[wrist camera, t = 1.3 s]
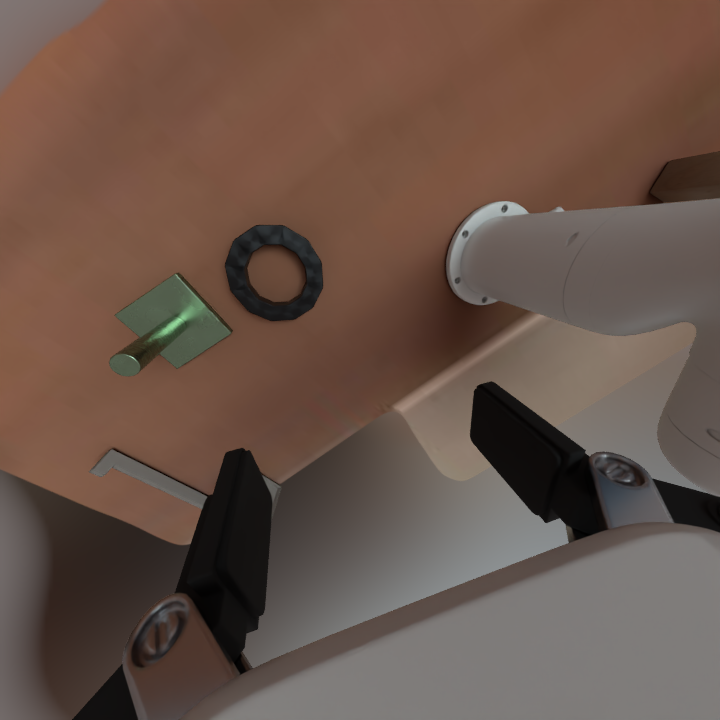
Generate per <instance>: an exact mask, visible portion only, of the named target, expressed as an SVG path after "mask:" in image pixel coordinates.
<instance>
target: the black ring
mask: <svg viewBox="0 0 720 720" xmlns="http://www.w3.org/2000/svg"><path fill="white" fill-rule="evenodd" d="M263 245H282V246H284V247H286V248H288V249H290V250H291V251H293V252H295V253H296V254H297V255H298V257H299V258H300V260H301V261H302V263H303V264H304V266H305V270H306V283H305V285H304V287H303V290H302V292H301V294H300V295H298V296H296V297H295V298H293V299H292V300H290V301H289V302H272V301H270V300H268V299H266V298H264V297H261V296H260V295H259V294H258V293H257V292H256V290H255V289H254V288H253V287H252V285H251V284H250V282H249V276H248V271H247V266H248V263H249V260H250V258H251V255H252V253H253V252H254V251H256V250H257V249H259V248H260V247H262V246H263ZM225 268H226V272H227V277H228V281H229V286H230V290H231V292H232V293H233V294H234V295H235V297H236V298H237V299H238V300H239V301H240V302H241V304H242V305H243V306H244V307H245V308H246V309H247V310H249V312H251V313H253V314H256V315H258V316H260V317H263V318H265V319H267V320H270V321H281V320H294V319H296V318H298V317H299V316H301V315H302V314H304V313H305V312H307V311H309V310H310V309H312V308H313V307H314V305H315V303H316V301H317V299H318V297H319V295H320V293H321V291H322V289H323V276H322V263H321V261H320V259H319V257H318V256H317V254H316V253H315V251H314V249H313V248H312V246H311V244H310V243H309V241H308V240H307V239H306V238H304V237H302V236H301V235H299V234H297V233H296V232H294V231H292V230H290V229H289V228H287V227H285V226H283V225H256V226H254V227H252V228H251V229H249V230H248V231H246V232H245V233H243V234H242V235H240V236H239V237H238V238H236V239H235V241H233V244H232V246H231V249H230V252H229V255H228V257H227V260H226V263H225Z"/></svg>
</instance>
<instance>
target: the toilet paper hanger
mask: <svg viewBox="0 0 720 720" xmlns="http://www.w3.org/2000/svg"><path fill="white" fill-rule="evenodd" d="M111 468H114V469H116V470H118V471H120V472H123V473H125V474H127V475H129V476H131V477H133V478H136V479H138V480H140V481H142V482H144V483H147V484H149V485H151V486H153V487H155V488H157V489H160V490H162V491H164V492H166V493H168V494H170V495H173V496H175V497H177V498H179V499H181V500H183V501H186V502H188V503H190V504H192V505H194V506H196V507H199V508H201V509H202V508H203V505H204V502H205V500H206V498H207V496H205V495H203V494H201V493H199V492H197V491H195V490H193V489H191V488H189V487H187V486H185V485H183V484H181V483H179V482H177V481H175V480H173V479H171V478H169V477H167V476H165V475H163V474H161V473H159V472H157V471H155V470H153V469H151V468H149V467H147V466H145V465H143V464H141V463H139V462H137V461H135V460H133V459H131V458H129V457H126V456H124V455H122V454H120V453H118V452H116V451H114V450H112V449H111V450H110V451H108V452H107V453H106V454H105V455H104V456H103V457H102V458H101V459H100V460H99V461H98V462H97V464H96V465H95V466H94V467H93V468H92V469H91V470H90V471H89V472H90V473H92V474H95V475H97V476H99V477H102V476H104V475H106V474H107V472H108V471H109V470H110V469H111ZM262 476H263V475H262ZM263 478H264V481H265V483H266V485H267V487H268V489H269V491H270V493H271V496H272V517H273V514H274V511H275V507H276V504H277V501H278V498H279V494H280V491H281V488H282V487H281V486H279V485H277V484H276V483H274V482H273V481H271V480H269V479H268V478H266V477H265V476H263ZM272 517H271V520H272Z"/></svg>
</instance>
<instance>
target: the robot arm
mask: <svg viewBox="0 0 720 720" xmlns="http://www.w3.org/2000/svg"><path fill="white" fill-rule="evenodd" d="M462 233H463V234H462ZM446 272H447V278H448V281H449V285H450V286H451V288H452V290H453V292H454V293H455V294H456V295H457V296H458V297H459V298H461V299H462V300H464V301H466V302H468V303H471V304H475V305H487V304H491V303H494V302H497V301H502V302H505V303H508V304H511V305H514V306H517V307H520V308H523V309H526V310H529V311H532V312H535V313H538V314H541V315H544V316H547V317H550V318H553V319H556V320H559V321H562V322H565V323H568V324H571V325H574V326H577V327H580V328H583V329H586V330H589V331H592V332H596V333H600V334H605V335H612V336H628V335H637V334H642V333H646V332H651V331H654V330H658V329H661V328H665V327H668V326H671V325H674V324H677V323H680V322H689V323H692V324H693V325H694V326H695V327H696V337H695V340H694V342H693V345H692V347H691V349H690V352H689V355H690V356H689V358H688V359H687V361H686V364H685V366H684V368H683V370H682V372H681V374H680V376H679V378H678V380H677V382H676V384H675V386H674V388H673V390H672V392H671V394H670V396H669V398H668V401H667V402H666V405H665V407H664V409H663V412H662V415H661V417H660V420H659V423H658V431H657V435H658V442H659V445H660V448H661V450H662V452H663V454H664V455H665V457H666V458H667V460H668V461H669V462H670V464H671V465H672V466H673V467H674V468H675V469H676V470H677V471H678V472H679V473H681V474H682V475H683V476H684V477H686V478H687V479H688V480H690V481H691V482H692V483H694V484H695V485H697V486H698V487H700V488H701V489H703V490H704V491H706V492H708V493H710V494H708V493H703V492H700V491H696V490H693V489H689V488H685V487H682V486H678V485H674V484H670V483H667V482H663V481H659V480H656V479H652V478H651V476H650V475H649V474H648V472H647V471H646V470H645V469H644V468H643V467H641V466H640V465H639V464H637V463H636V462H634V461H632V460H631V459H629V458H626V457H624V456H622V455H618V454H614V453H610V452H596V453H594V454H592V455H591V456H590V457H589V456H588V455H587V454H585V451H586V450H584V449H583V448H582V447H580V446H579V445H578V444H576V443H575V442H574V441H572V440H571V439H570V438H568V437H567V436H566V435H564V434H563V433H562V432H560V431H559V430H557V429H556V428H555V427H554V426H552V425H551V424H550V423H548V422H547V421H546V420H544V419H543V418H541V417H540V416H539V415H537V414H536V413H535V412H533V411H532V410H531V409H529V408H528V407H527V406H525V405H524V404H523V403H521V402H520V401H519V400H517V399H516V398H515V397H513V396H512V395H511V394H509V393H508V392H506V391H505V390H504V389H502V388H501V387H500V386H498V385H497V384H496V383H494V382H487V383H483V384H480V385H478V386H477V389H475V390H474V397H473V407H472V418H471V429H470V438H471V441H472V442H473V444H474V445H475V446H476V447H477V448H478V450H479V451H480V452H481V453H482V454H483V455H484V457H485V458H486V459H487V460H488V461H489V462H490V464H491V465H492V466H493V467H494V468H495V469H496V471H497V472H498V473H499V474H500V475H501V476H502V478H503V479H504V480H505V481H506V482H507V483H508V485H509V486H510V487H511V488H512V489H513V490H514V492H515V493H516V494H517V495H518V496H519V497H520V499H521V500H522V501H523V502H524V503H525V504H526V506H527V507H528V508H529V509H530V510H531V511H532V512H533V513H534V514H535V515H539V516H540V517H541V518H542V519H543V520H544V522H545V523H548V522H550V521H553V520H556V519H558V518H560V519H561V520H562V521H563V522H564V523H565V524H566V530H567V535H568V541H569V543H568V544H565V545H562V546H560V547H557V548H554V549H552V550H549V551H546V552H544V553H541V554H538V555H536V556H533V557H531V558H528V559H525V560H523V561H520V562H517V563H515V564H512V565H510V566H507V567H505V568H502V569H499V570H496V571H494V572H491V573H489V574H486V575H483V576H481V577H478V578H476V579H473V580H471V581H468V582H465V583H463V584H460V585H458V586H455V587H453V588H450V589H447V590H445V591H442V592H440V593H437V594H434V595H432V596H429V597H427V598H424V599H421V600H419V601H416V602H414V603H411V604H409V605H406V606H403V607H401V608H398V609H396V610H393V611H391V612H388V613H386V614H383V615H381V616H378V617H375V618H373V619H371V620H368V621H365V622H363V623H360V624H358V625H355V626H353V627H350V628H348V629H345V630H343V631H340V632H337V633H335V634H332V635H330V636H327V637H325V638H322V639H320V640H318V641H315V642H313V643H310V644H308V645H306V646H303V647H301V648H298V649H296V650H294V651H291V652H289V653H286V654H284V655H282V656H279V657H277V658H274V659H272V660H270V661H268V662H266V663H264V664H262V665H260V666H258V667H255V668H252V666H251V665H250V663H249V662H248V660H247V658H246V657H245V655H244V654H243V652H242V651H243V649H244V648H245V640H246V633H249V632H252V631H254V630H257V629H258V620H259V616H261V615H263V613H264V610H265V600H266V587H267V573H268V559H269V544H270V530H271V517H272V496H271V493H270V491H269V489H268V487H267V485H266V483H265V481H264V478H263V476H262V474H261V472H260V470H259V468H258V466H257V464H256V462H255V460H254V457H253V455H252V453H251V451H250V450H248V451H245V449H244V448H240V449H236V450H232V451H229V452H226V454H225V456H224V459H223V463H222V466H221V469H220V472H219V476H218V479H217V482H216V486H215V489H214V492H213V494H212V495H209V496H208V497H207V498H206V500H205V502H204V505H203V508H202V511H201V514H200V517H199V520H198V524H197V527H196V530H195V533H194V536H193V539H192V542H191V545H190V548H189V552H188V555H187V557H186V561H185V564H184V567H183V570H182V573H181V576H180V579H179V582H178V585H177V588H176V592H175V594H171V595H169V596H167V597H165V598H164V599H161V600H160V601H159V602H157V603H156V604H155V605H154V606H152V607H151V608H150V609H149V610H148V611H147V612H146V614H145V615H144V616H143V617H142V618H141V619H140V621H139V622H138V624H137V625H136V627H135V628H134V630H133V631H132V633H131V635H130V637H129V639H128V642H127V644H126V646H125V650H124V654H123V660H122V661H123V664H122V665H121V666H120V667H119V668H118V669H117V670H116V672H115V673H114V674H113V675H112V676H111V677H110V678H109V679H108V680H107V682H106V683H105V684H104V685H103V686H102V687H101V688H100V689H99V690H98V692H97V693H96V694H95V695H94V696H93V697H92V698H91V699H90V701H89V702H88V703H87V704H86V705H85V706H84V707H83V708H82V709H81V711H80V712H79V713H78V714H77V715H76V716H75V717H74V719H72V720H720V198H718V199H708V200H698V201H688V202H677V203H664V204H652V205H639V206H626V207H613V208H600V209H587V210H573V211H564V210H563V209H562V208H561V207H557V208H555V209H553V210H552V211H550V212H547V213H534V214H529V213H528V212H527V211H526V210H525V209H524V208H523V207H522V206H520V205H518V204H516V203H513V202H509V201H503V202H494V203H490V204H487V205H485V206H482V207H480V208H479V209H477V210H476V211H474V212H473V213H472V214H470V215H469V216H468V217H467V218H466V219H465V220H464V221H463V223H462V224H461V225H460V227H459V228H458V229H457V231H456V233H455V235H454V236H453V238H452V241H451V244H450V246H449V250H448V254H447V260H446Z"/></svg>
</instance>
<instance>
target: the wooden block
mask: <svg viewBox="0 0 720 720" xmlns="http://www.w3.org/2000/svg"><path fill="white" fill-rule="evenodd" d="M651 194H653V195H654V196H655V197H657V198H658V199H660V200H661V201H663V202H677V201H690V200H703V199H715V198H720V151H718V152H713V153H708V154H702V155H697V156H692V157H687V158H681V159H676V160H672V161H670V162H669V163H668V164H667V165H666V167H665V169H664V170H663V172H662V173H661V175H660V177H659V178H658V180H657V181H656V183H655V185H654V186H653V188H652V189H651Z"/></svg>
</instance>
